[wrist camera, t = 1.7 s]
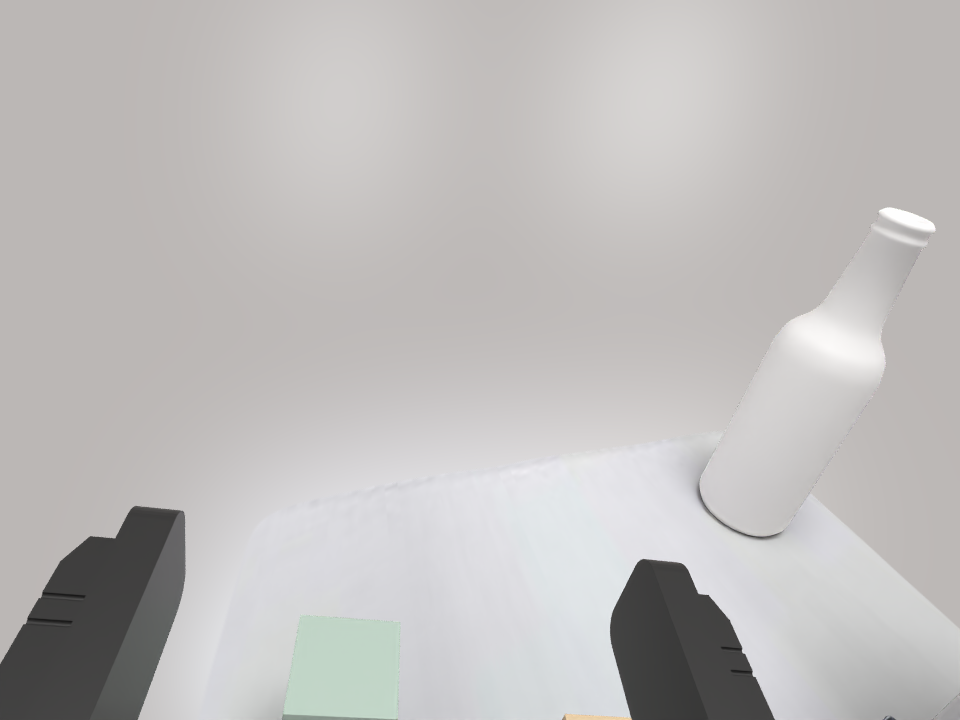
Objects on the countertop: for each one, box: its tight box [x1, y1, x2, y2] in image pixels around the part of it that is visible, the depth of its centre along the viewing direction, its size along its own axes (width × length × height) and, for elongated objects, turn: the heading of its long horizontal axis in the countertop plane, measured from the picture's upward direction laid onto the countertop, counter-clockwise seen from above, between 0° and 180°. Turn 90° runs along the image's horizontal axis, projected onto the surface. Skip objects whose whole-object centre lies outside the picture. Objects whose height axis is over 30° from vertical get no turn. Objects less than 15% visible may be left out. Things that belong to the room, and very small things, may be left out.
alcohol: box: [699, 208, 936, 537], centre depth 57 cm, size 9×9×30 cm
